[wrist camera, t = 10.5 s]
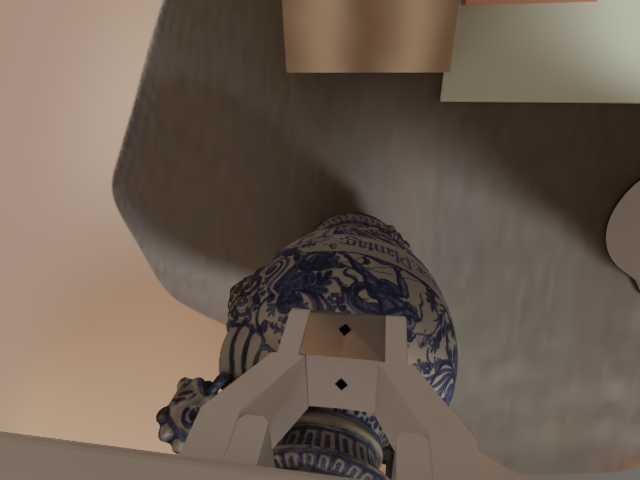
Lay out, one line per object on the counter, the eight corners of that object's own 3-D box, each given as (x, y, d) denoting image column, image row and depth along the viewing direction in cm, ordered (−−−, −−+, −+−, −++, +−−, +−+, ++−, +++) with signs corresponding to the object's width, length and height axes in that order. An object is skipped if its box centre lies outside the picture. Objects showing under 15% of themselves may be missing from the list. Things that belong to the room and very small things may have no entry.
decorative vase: (488, 241, 43) (592, 546, 20) (387, 341, 53) (379, 623, 30) (312, 135, 40) (194, 349, 17) (240, 262, 50) (103, 507, 27)
